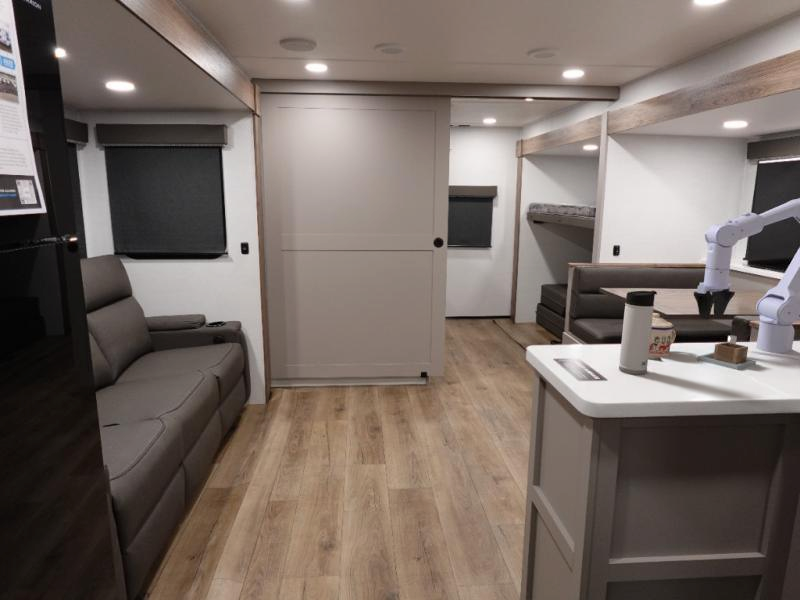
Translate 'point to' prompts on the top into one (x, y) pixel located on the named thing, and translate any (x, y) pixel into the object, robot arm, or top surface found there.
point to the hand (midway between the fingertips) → (711, 317)
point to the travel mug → (636, 332)
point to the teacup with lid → (660, 337)
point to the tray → (739, 366)
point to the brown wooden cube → (730, 353)
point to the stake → (731, 339)
